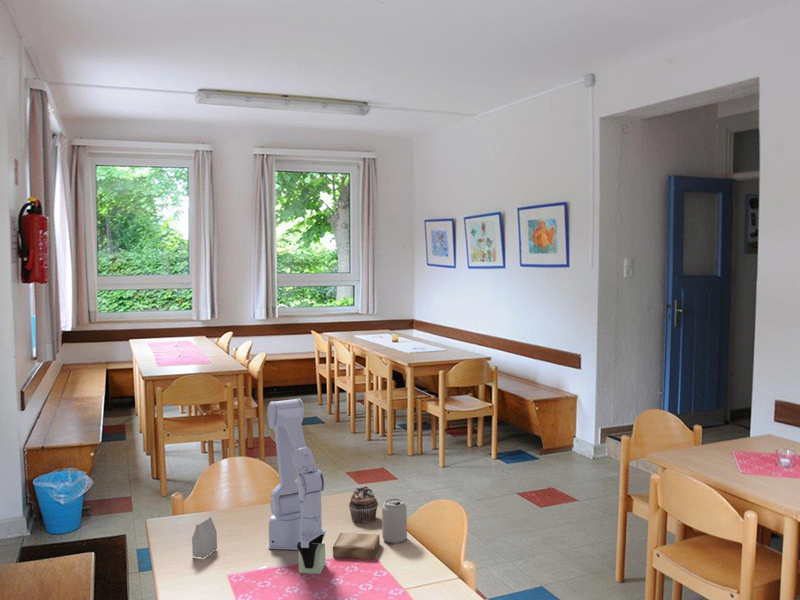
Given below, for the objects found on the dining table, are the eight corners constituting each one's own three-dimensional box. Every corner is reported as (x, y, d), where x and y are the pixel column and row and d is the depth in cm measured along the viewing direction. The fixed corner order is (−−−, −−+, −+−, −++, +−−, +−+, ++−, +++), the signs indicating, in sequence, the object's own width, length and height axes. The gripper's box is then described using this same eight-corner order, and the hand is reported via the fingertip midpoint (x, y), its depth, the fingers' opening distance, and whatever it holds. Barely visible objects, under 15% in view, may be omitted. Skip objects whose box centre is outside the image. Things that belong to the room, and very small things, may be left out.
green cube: (298, 572, 194) (298, 551, 194) (304, 563, 200) (304, 542, 200) (320, 574, 193) (319, 552, 193) (325, 564, 199) (325, 543, 199)
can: (404, 545, 211) (403, 506, 210) (380, 543, 213) (379, 504, 212) (409, 535, 219) (408, 497, 218) (385, 533, 220) (384, 496, 219)
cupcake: (343, 517, 234) (342, 488, 233) (367, 511, 240) (367, 482, 239) (359, 526, 226) (358, 496, 226) (384, 519, 232) (383, 489, 231)
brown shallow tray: (332, 556, 204) (332, 546, 204) (340, 542, 214) (340, 532, 214) (373, 558, 202) (373, 548, 202) (379, 544, 212) (379, 534, 212)
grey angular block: (217, 550, 210) (216, 517, 209) (203, 559, 204) (202, 525, 203) (206, 548, 211) (205, 516, 211) (192, 557, 205) (191, 524, 204)
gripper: (318, 525, 188) (319, 575, 189) (331, 506, 202) (332, 552, 203) (292, 524, 189) (294, 573, 190) (307, 505, 203) (308, 551, 204)
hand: (312, 562), depth 197 cm, fingers closed on green cube, 6 cm apart
